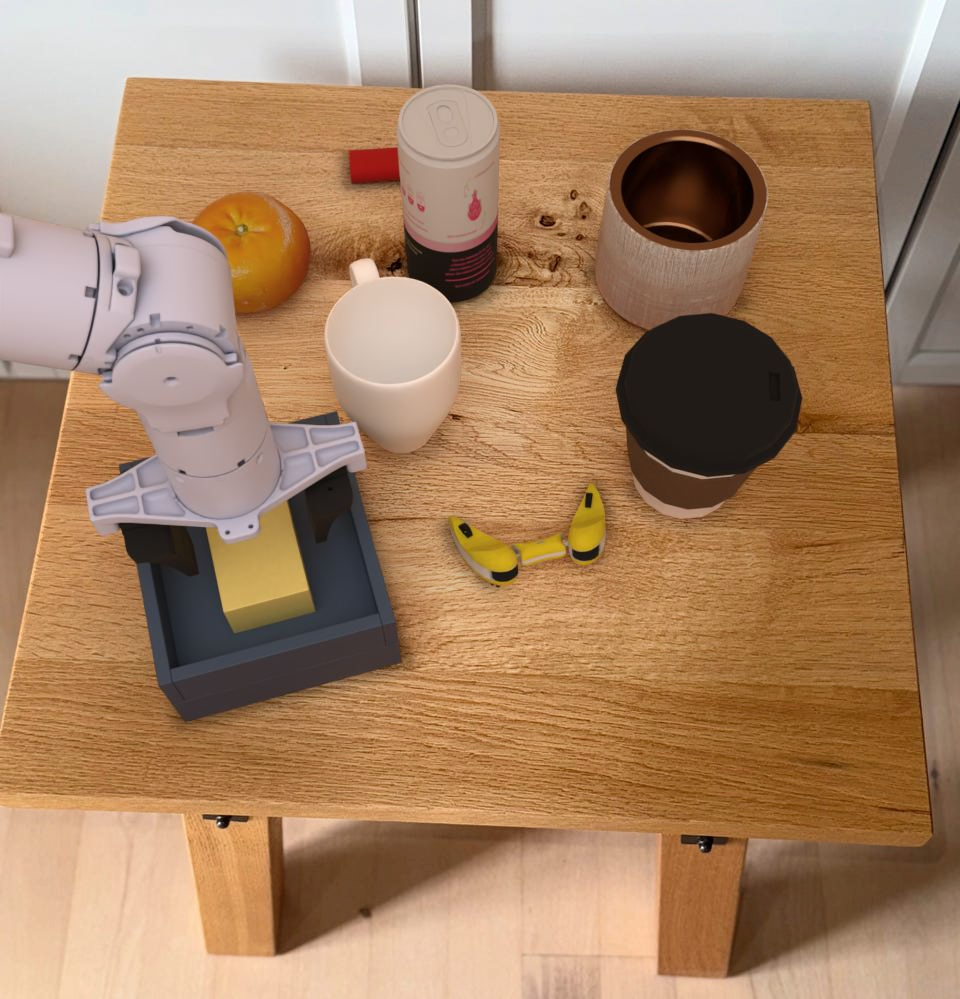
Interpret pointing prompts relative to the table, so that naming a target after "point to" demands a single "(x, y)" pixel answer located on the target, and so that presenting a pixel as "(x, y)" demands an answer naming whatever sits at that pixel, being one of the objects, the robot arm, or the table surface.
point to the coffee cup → (704, 410)
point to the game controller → (533, 544)
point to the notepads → (262, 573)
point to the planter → (678, 226)
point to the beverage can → (450, 189)
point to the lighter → (374, 165)
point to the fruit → (259, 247)
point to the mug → (393, 357)
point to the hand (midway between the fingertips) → (254, 544)
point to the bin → (282, 645)
